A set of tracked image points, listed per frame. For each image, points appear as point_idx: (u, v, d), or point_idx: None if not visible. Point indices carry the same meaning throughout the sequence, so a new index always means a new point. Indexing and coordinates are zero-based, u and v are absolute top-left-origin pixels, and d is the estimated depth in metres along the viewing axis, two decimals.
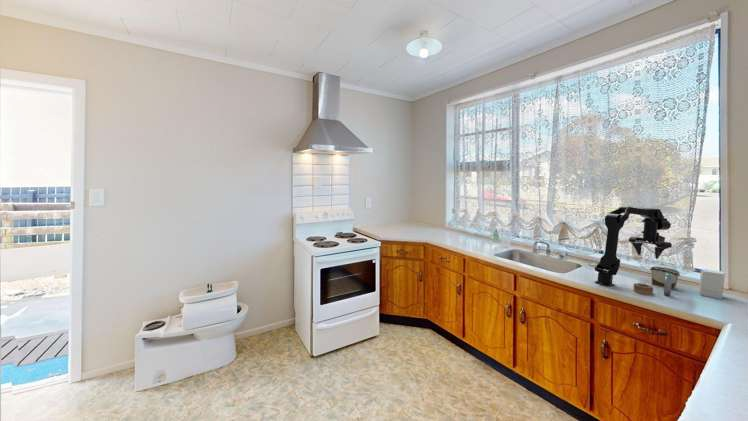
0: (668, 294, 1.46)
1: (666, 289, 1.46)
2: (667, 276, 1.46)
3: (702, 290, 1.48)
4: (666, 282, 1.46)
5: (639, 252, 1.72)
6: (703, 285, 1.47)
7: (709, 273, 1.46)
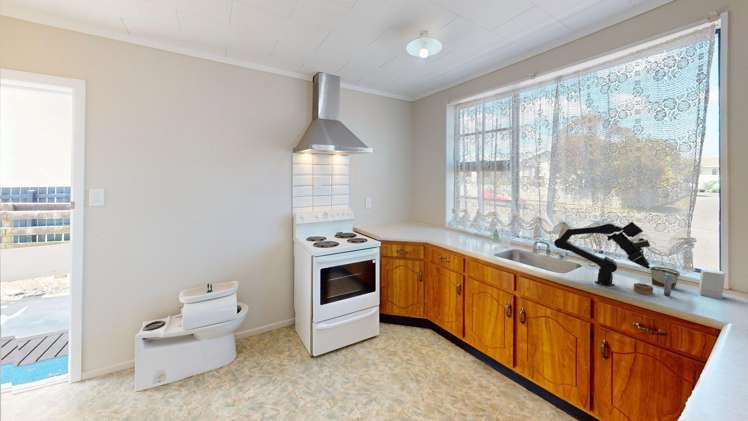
0: (668, 294, 1.46)
1: (666, 289, 1.46)
2: (667, 276, 1.46)
3: (702, 290, 1.48)
4: (666, 282, 1.46)
5: (645, 262, 1.56)
6: (703, 285, 1.47)
7: (709, 273, 1.46)
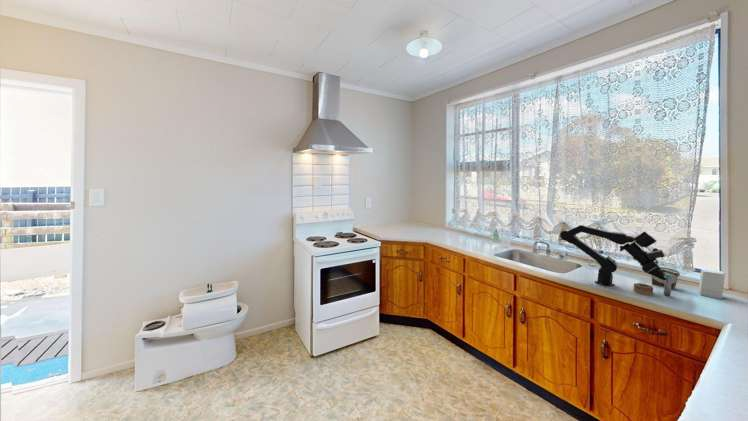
0: (668, 294, 1.46)
1: (666, 289, 1.46)
2: (667, 276, 1.46)
3: (702, 290, 1.48)
4: (666, 282, 1.46)
5: None
6: (703, 285, 1.47)
7: (709, 273, 1.46)
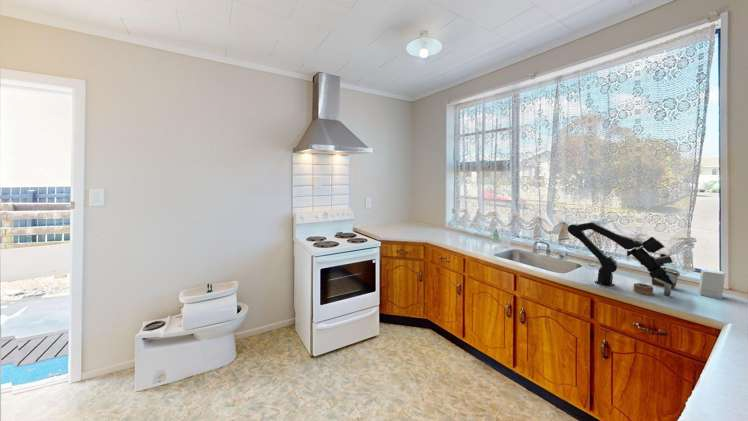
0: (668, 294, 1.46)
1: (666, 289, 1.46)
2: None
3: (702, 290, 1.48)
4: None
5: None
6: (703, 285, 1.47)
7: (709, 273, 1.46)
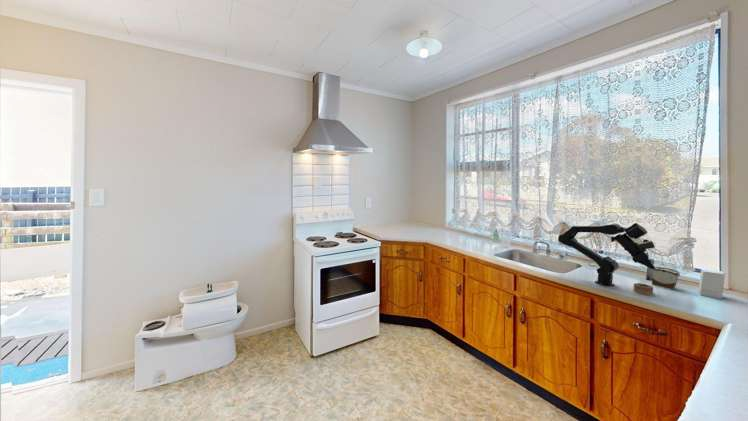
0: (650, 278, 1.49)
1: (648, 274, 1.50)
2: None
3: (702, 290, 1.48)
4: (648, 267, 1.50)
5: None
6: (703, 285, 1.47)
7: (709, 273, 1.46)
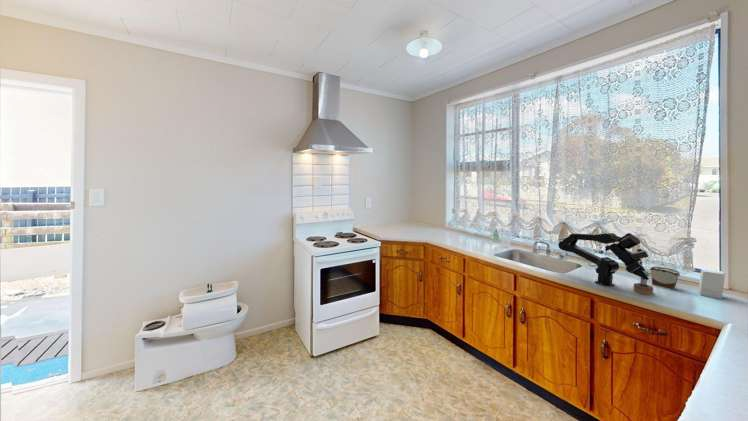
0: None
1: None
2: None
3: (702, 290, 1.48)
4: (642, 279, 1.51)
5: None
6: (703, 285, 1.47)
7: (709, 273, 1.46)
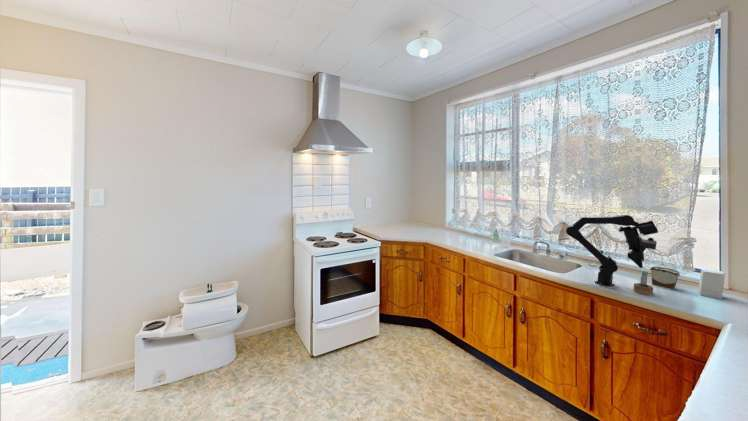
0: None
1: None
2: (643, 273, 1.51)
3: (702, 290, 1.48)
4: (642, 279, 1.51)
5: None
6: (703, 285, 1.47)
7: (709, 273, 1.46)
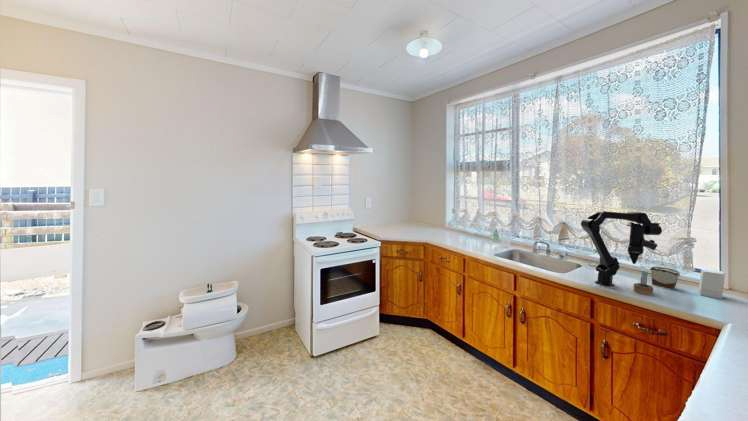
0: None
1: None
2: (643, 273, 1.51)
3: (702, 290, 1.48)
4: (642, 279, 1.51)
5: None
6: (703, 285, 1.47)
7: (709, 273, 1.46)
